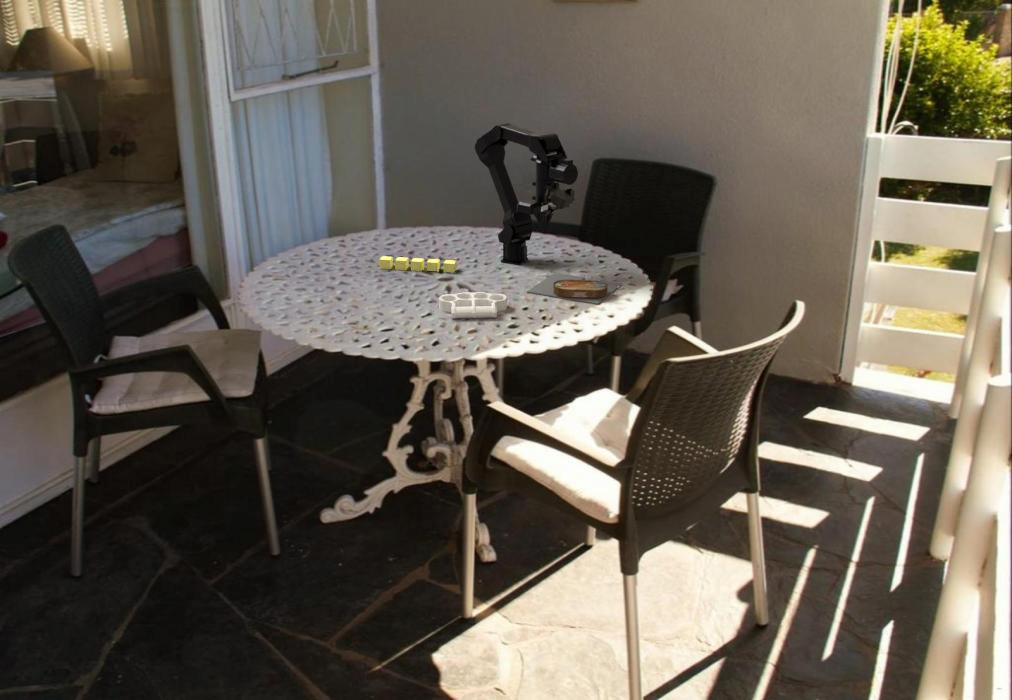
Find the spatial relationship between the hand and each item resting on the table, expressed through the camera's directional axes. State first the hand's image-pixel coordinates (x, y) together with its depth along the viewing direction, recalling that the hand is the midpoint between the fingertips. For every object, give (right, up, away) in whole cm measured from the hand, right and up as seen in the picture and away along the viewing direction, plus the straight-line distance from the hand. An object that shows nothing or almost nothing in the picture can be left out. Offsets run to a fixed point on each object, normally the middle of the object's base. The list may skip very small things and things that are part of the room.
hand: (544, 231), depth 293 cm
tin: (+10, -16, -12) cm, 22 cm away
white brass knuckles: (-20, -24, -26) cm, 41 cm away
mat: (+8, -17, -10) cm, 22 cm away
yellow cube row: (-38, -10, +8) cm, 40 cm away
